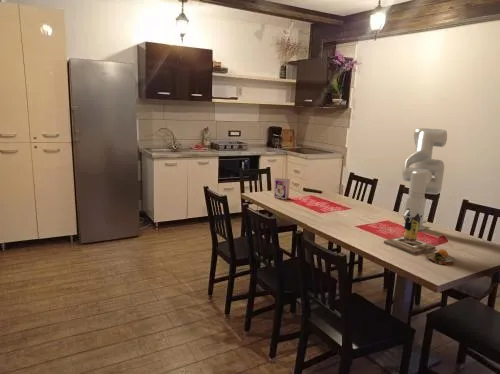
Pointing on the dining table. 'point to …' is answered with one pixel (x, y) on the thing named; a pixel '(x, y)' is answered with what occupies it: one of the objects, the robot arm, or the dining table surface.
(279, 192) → the greeting card
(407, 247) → the walnut board
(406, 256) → the dining table surface
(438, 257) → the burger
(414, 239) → the sauce bottle
